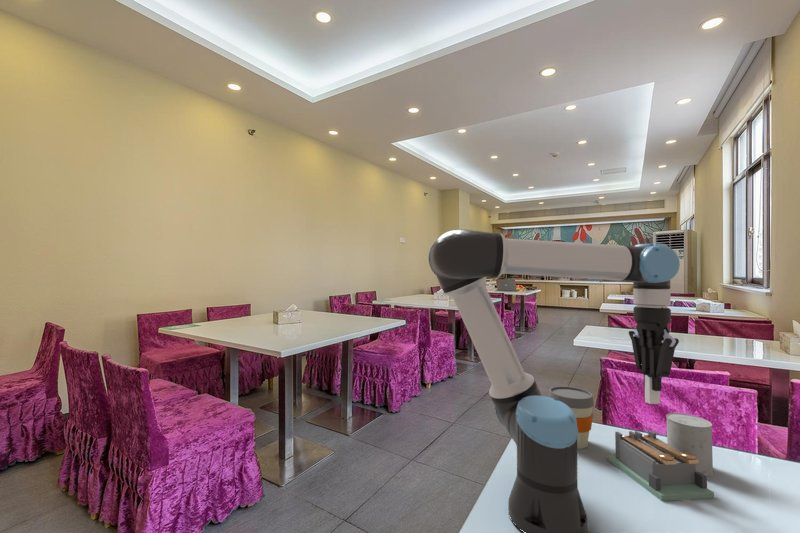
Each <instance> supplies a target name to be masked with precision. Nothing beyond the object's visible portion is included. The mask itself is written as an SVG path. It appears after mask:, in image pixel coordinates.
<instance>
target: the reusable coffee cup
mask: <svg viewBox="0 0 800 533" xmlns="http://www.w3.org/2000/svg"><path fill="white" fill-rule="evenodd" d="M548 397H550V398H553V399H554V400H556V401H561V402H563V403H564V404H566V405H567V406H569V407H570V408H571V409H572V411H573V412H574V414H575V416H576V421H577V427H578V438H577V450H579V449H581V450H583V449H586V448H588V443H589V435H590V432H591V430H592V425H593V424H592V423H593V417H594V413H593V407H594V405H595V402H594V395H593V393H592V392H590V391H588V390H587V389H582V388H579V387H574V386H566V385H564V386H563V385H559V386H552V387H550V388H549V390H548Z"/></svg>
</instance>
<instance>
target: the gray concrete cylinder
mask: <svg viewBox="0 0 800 533" xmlns="http://www.w3.org/2000/svg"><path fill="white" fill-rule="evenodd" d="M665 417H666V443H667V444H668V445H670V446H672V447H674V448H676V449H677V450H679V451H681V452H687V453H691V454H693V455H695V456H696V459H698V460H699V463H697V464H696V472H700V473H702V474H704V475H706V476H707V477H711V476H712V475H714V470H713V469H714V468H713V467H714V466H713V459H714V458H713V423H712V422H711V421H709V420H707V419H705V418H703V417H701V416H696V415H692V414H688V413H681V412H670V413H667V414H666V415H665Z"/></svg>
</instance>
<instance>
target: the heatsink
mask: <svg viewBox="0 0 800 533" xmlns="http://www.w3.org/2000/svg"><path fill="white" fill-rule="evenodd" d="M647 431H648V432H647V435H650V436H651V437H652V438H654V439H656V440H658V441H660V442H662V443H665V444H667V442H665V441H663V440H661V439H659V438H657V433H656V432H655V431H653V430H647ZM614 434H615V435H614V437H615V444H614V445H615V454H607V461H609V462H610V463H611V464H612V465H614V466H615V467H616V468H618V469H620V470H621V471H622V472H623V474H626V476H628V477H629V478H631V479H632V480H634V481H635V482H636V483H637V484H639V485H640V486H641V487H642V488H644V489H645V490H646V491H648V492H649V493H651V495H653V496H654V497H655V498H657V499H658V500H659V501H661V502H662V501H681V500H703V499H715V492H714V491H712V490H710V489H709V488H708V476H706V475H704V474H702V473H700V472H696V464H688V463H686V462H684V461H682V460H680V459H678V458H676V457H674V456H673V459H674V460H676V464H674V465H666V464H664V463H662V462H660V461H658V460H657V459H655V458H653V457H651V456H649V455H648V454H646V453H644V452H642V451H640V450H638V449H637V448H635V447H633V446H632V445H630V444H629V443H627V442H626V441H624V440H623V436H624V435H623V434H622V432H619V431H615V432H614ZM642 435H643V433H642V432H640V431H638V430H634V431H632V430H629V431H628V436H631V437H632V438H633V439H635V440H637V441H639V442H641V443H643V444H645V445H647V446H649V447H651V448H653V449H654V450H656V451H658V452H660V453H666V452H665V451H663V450H661V449H659V448H657V447H655V446H653V445H651V444H649V443H647V442H645V441H643V440H642ZM667 445H668V444H667ZM669 446H670V445H669ZM671 447H672V446H671ZM673 448H674V447H673ZM675 449H676V448H675ZM666 454H668V453H666ZM669 455H670V454H669Z"/></svg>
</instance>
